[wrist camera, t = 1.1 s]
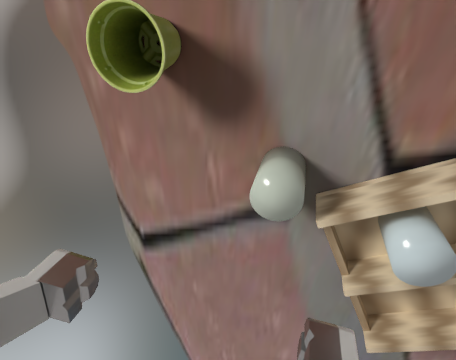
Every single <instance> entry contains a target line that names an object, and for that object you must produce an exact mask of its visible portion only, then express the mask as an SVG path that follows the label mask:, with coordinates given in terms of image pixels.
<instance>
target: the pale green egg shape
mask: <svg viewBox="0 0 456 360" xmlns="http://www.w3.org/2000/svg"><path fill="white" fill-rule="evenodd" d="M305 178H306V162H305V160H304V158H303V156H302V155H301V154H300V153H299V152H298V151H297V150H295V149H293V148H290V147H276V148H273V149H271V150H270V151H268V152H267V153H266V154H265V156H264V158H263V160H262V162H261V165H260V167H259V170H258V172H257V175H256V178H255V180H254V183H253V185H252V188H251V190H250V202H251V205H252V207H253V208H254V210H255V211H256V212H257V213H258V214H259V215H261V216H262V217H264V218H266V219H268V220H272V221H286V220H289V219H291V218H293V217H295V216H296V215H297V214H298V213H299V212H300V211H301V209H302V207H303V203H304V192H305Z"/></svg>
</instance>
